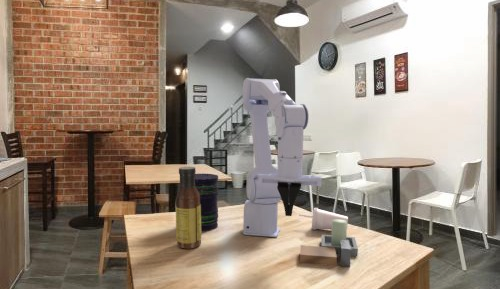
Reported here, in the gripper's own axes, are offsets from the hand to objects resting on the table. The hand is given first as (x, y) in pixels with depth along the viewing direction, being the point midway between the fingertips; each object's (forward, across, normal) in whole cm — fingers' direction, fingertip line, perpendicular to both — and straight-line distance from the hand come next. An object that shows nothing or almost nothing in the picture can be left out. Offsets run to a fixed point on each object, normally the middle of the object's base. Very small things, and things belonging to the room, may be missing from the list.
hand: (288, 214), depth 85 cm
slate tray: (+10, +12, +8) cm, 17 cm away
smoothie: (+7, +15, +21) cm, 27 cm away
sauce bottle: (+10, -25, +1) cm, 27 cm away
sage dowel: (+10, +12, +8) cm, 17 cm away
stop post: (+10, +13, 0) cm, 16 cm away
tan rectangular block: (+10, +7, 0) cm, 12 cm away
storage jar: (+10, -27, +17) cm, 33 cm away
